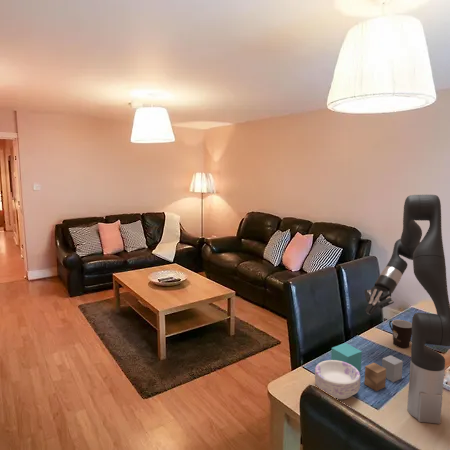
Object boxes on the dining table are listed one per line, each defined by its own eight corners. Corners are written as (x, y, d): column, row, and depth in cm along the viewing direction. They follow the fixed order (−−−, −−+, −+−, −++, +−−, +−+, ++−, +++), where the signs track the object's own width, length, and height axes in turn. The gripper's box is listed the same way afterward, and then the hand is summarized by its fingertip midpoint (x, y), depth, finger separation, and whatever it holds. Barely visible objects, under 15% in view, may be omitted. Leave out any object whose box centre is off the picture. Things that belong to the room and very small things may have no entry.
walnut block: (385, 386, 122) (386, 368, 121) (376, 391, 120) (377, 373, 119) (373, 379, 127) (374, 362, 126) (364, 384, 124) (365, 366, 123)
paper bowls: (306, 384, 125) (306, 364, 123) (339, 375, 130) (340, 355, 129) (333, 410, 111) (333, 387, 109) (369, 399, 116) (370, 377, 115)
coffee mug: (414, 350, 148) (416, 328, 146) (393, 348, 149) (394, 327, 148) (406, 337, 159) (407, 317, 158) (386, 336, 161) (387, 316, 159)
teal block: (360, 370, 133) (361, 351, 132) (347, 376, 129) (347, 356, 128) (344, 360, 140) (345, 342, 139) (330, 366, 136) (331, 347, 135)
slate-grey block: (401, 378, 128) (402, 361, 127) (393, 382, 125) (394, 364, 124) (389, 371, 132) (390, 355, 131) (381, 375, 129) (382, 358, 128)
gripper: (371, 270, 146) (350, 303, 142) (400, 278, 134) (378, 314, 130) (378, 280, 149) (358, 312, 145) (407, 289, 138) (386, 324, 134)
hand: (368, 313), depth 138 cm, fingers closed
